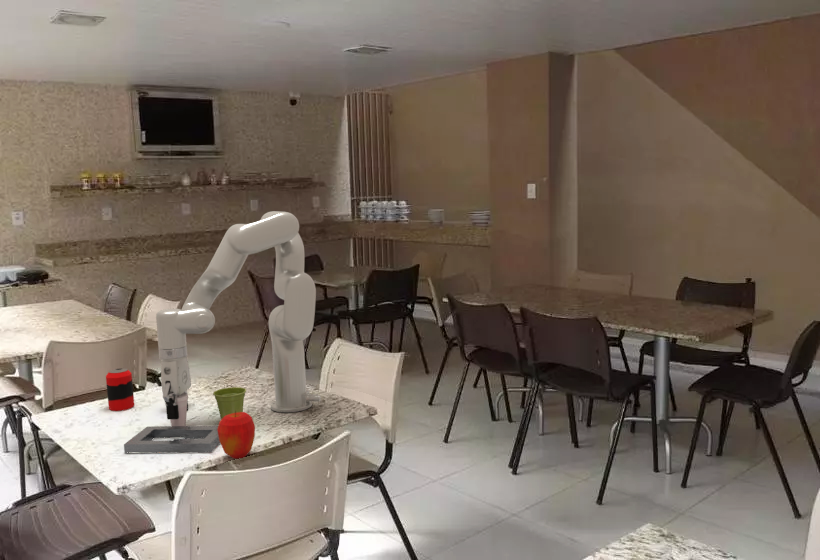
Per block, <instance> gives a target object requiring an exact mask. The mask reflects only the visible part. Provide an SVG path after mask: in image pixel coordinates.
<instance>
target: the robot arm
mask: <svg viewBox="0 0 820 560" xmlns="http://www.w3.org/2000/svg"><path fill="white" fill-rule="evenodd" d="M299 230H300V222H299V219H298V218H297V217H296V216H295V214H293V213H291V212H288V211H278V210H276V211H275V210H274V211H267V212H266V213H264V214H263V215H262V216H261V218H260V220H258V221H255V222H254V221H253V222H251V223H236V224H233V225H231V226H230V227H228V229H227V230H226V232H225V234H224V236H223V237H222V240H221V242H220V243H219V246H218V247H217V249H216V251H215V253H214V255H213V256H212V258H211V261H210V262H209V264H208V265H207V268H206V269H205V271H204V272H203V273H202V274H201V275H200V277H199V278H198V279H197V281H196V283H195V284H194V285H193V286H192V288H191V290H190V291H189V294H188V296H187V298H186V299H185V301H184V303H183V305H182V307H181V309H180V308H166V309H161V310H158V311H157V312H156V315H155V321H156V322H155V323H156V335H157V346H158V358H159V361H161V362H160V364H161V365H160V377H161V379H160V381H161V391H162V398H163V400H164V404H165V405H164V406H165V408H166V411H165V412H166V419H167V420H170V419H178V418H179V411H178V405H176V404H177V395H181V394H182V393H187V394H188V390H189V389H190V388H191V386H192V380H191V371H190V366H189V364H190V363H189V360H188V347H187V346H188V345H187V334H190V335H191V334H192V335H193V334H201V335H202V334H206V333H208V332H210V331H211V330H213V328H214V326H215V322H216V318H215V315H214V313H213V312H212V311H211V310H210V309H211V308H212V305H213V303H214V302H215V300H216V298H217V297H218V296H219V295H220V294H221V292H223V291H224V290H225V289H227V288H228V287H230V286H231V285H232V284H233V283H235V281H236V280H237V277H239V276H238V275H239V274H240V271H241V269H242V268H243V266H244V264H245V262H246V260H247V258H248V256H249V255H254V254H257V253H260V252H263V251H267V250H268V249H271V248H274V249H275V250H274V251H275V272H274V283H273V285H274V286H273V288H274V293H275V295H276V296H277V297H278V298H279V299H280V300H282V301H284V302H283V304H281V305H278V306H276V307H275V308H273V309H272V311H271V312H270V314H269V317H268V330H269V336H270V340H271V349H272V366H273V381H274V382H273V383H274V395H275V396H274V397H275V398H274V399H275V400H274V401H273V402H271V404H270V409H271V410H272V411H273V412H277V413H296V412H302V411H305V410H308V409H310V408H311V407H312V406H313V402H314V403H315V402H321V398H322V397H321V395H320V394H318V393H310V390H309V389H307V379H306V361H305V347H304V340H306V339H307V338H308V337H309V336H310V335H311V333H312V331H313V329H314V323H315V316H316V315H315V313H316V300H317V299H316V298H317V297H316V296H317V289H316V284H315V281H314V280H313V278H312V277H311V275H309V274H308V273H306V272H305V247H304V242H303V239H302V237H301V235H300V233H299ZM171 392H173V393H174V394H170V393H171ZM188 395H189V394H188ZM170 397H174V398H173V399H172V398H170ZM188 399H189V398H188ZM188 399H187V412H188V411H189V400H188Z"/></svg>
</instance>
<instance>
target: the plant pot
mask: <svg viewBox="0 0 820 560" xmlns="http://www.w3.org/2000/svg"><path fill="white" fill-rule="evenodd" d="M246 393H247V389H246V388H245V387H240V386H235V387H234V386H233V387H226V388H225V387H224V388H220V389H217V390H215V391H213V393H212V395H213V396H214V399H215V400H216V404H217V408H218V412H219V417H220V421H221V420H222V418H223V417H224V416H226V415H229V414H232V413H235V411H236V413H238V412H244V404H245V403H244V402H245V401H244V400H245V397H246Z"/></svg>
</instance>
